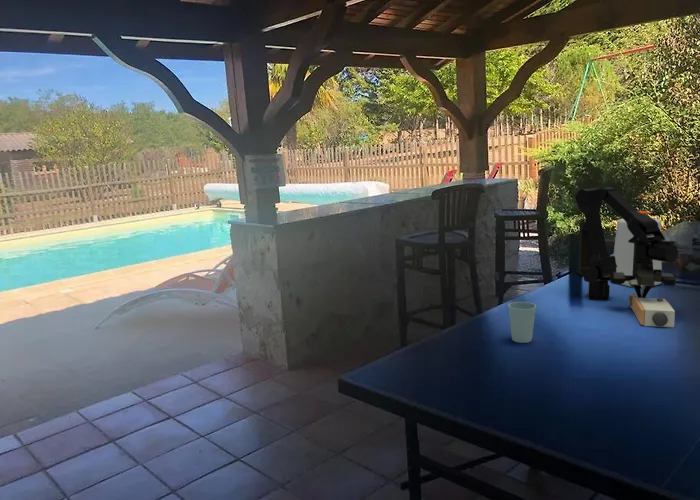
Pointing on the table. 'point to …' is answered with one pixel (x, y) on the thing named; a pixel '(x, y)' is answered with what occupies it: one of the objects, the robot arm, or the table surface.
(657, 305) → the camera housing
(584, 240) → the portable radio
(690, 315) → the table surface
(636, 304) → the side door
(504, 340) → the table surface
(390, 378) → the table surface
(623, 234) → the plastic bottle
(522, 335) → the cup
